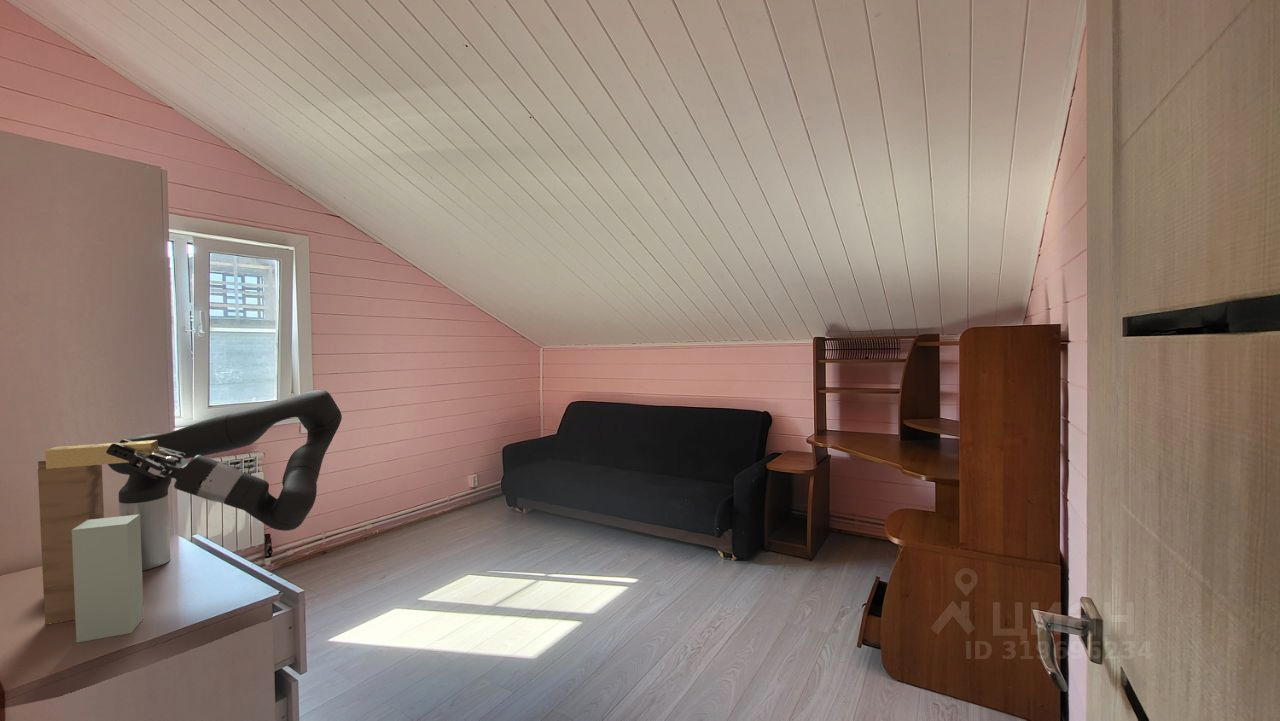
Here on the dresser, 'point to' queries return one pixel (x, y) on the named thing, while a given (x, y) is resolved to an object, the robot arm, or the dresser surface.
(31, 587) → the dresser surface
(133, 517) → the block
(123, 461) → the rail
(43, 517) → the stand
